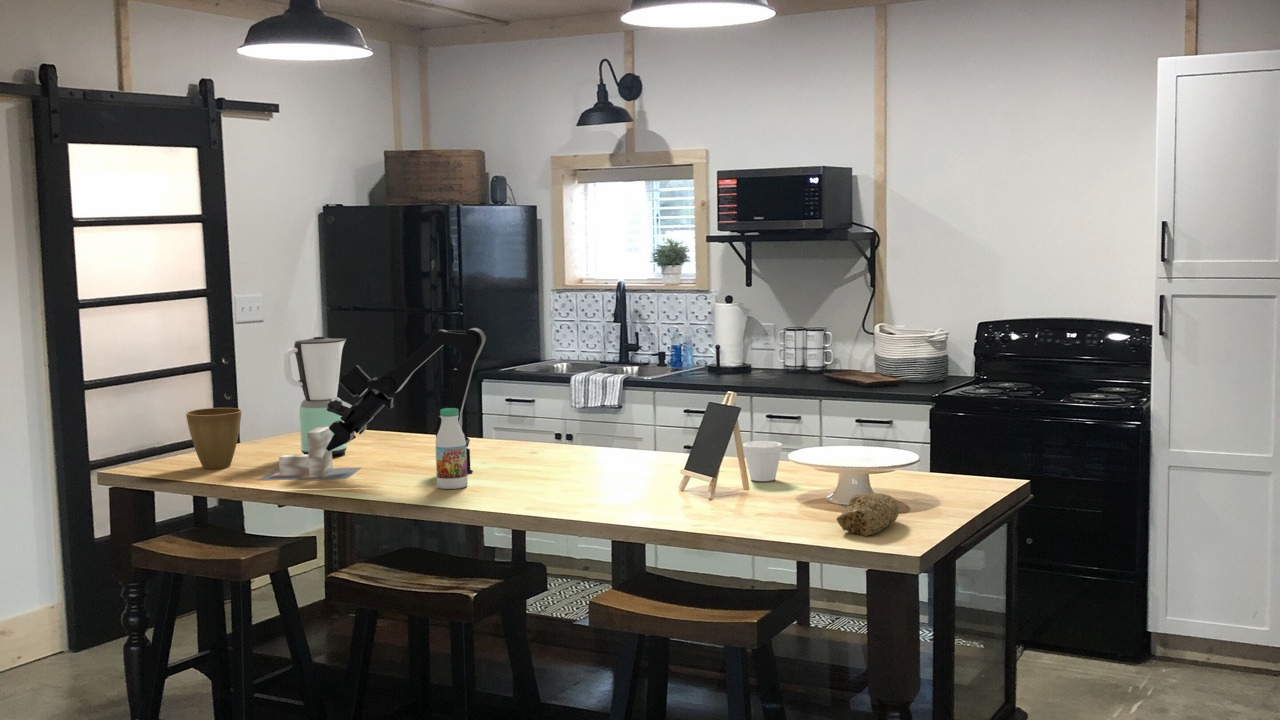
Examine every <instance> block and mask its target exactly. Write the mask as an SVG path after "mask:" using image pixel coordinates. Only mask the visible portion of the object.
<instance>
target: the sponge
mask: <svg viewBox="0 0 1280 720" xmlns="http://www.w3.org/2000/svg"><path fill="white" fill-rule="evenodd" d="M899 514H900V512H899V506H898V501H897V499H896V498H894V497H893V496H891V495H889V494H886V493H879V492H878V493H877V492H876V493H868V494H867V493H861V494H856V495H853V496H852V497H851V498H850V500H849V501H848V503H847V505H846V506H845V510H844V511H843V512H841V514H840V515H838V516H837V517H836V521H837V523H838V525H839V526H840V527H841V530H843V531H844V532H845V531H847V532H848V533H851V534H857V535H859V534H860V535H862V536H863V537H868V536H871V535H875V534H877V533H879V532H880V531H882V530H883V529H885V528H886V527H887V526H889V525H892V523H895V521H896V520H897V519H898V517H899Z"/></svg>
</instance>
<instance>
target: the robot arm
mask: <svg viewBox="0 0 1280 720" xmlns="http://www.w3.org/2000/svg"><path fill="white" fill-rule="evenodd" d="M486 340H487V337H486V335H485V332H484V331H483V330H481V329H480V328H478V327H472V328H469V329H468V330H448V329H447V330H446V329H438V330H437V331H435V332H434V333H433V335H432V336H431V337H430V338H429V339H428V340H427V341H425V342H424V343H423V344H422V345H421V346H420V347H419V348H417V350H416V351H415V352H413V353H412V354H411V355H410V356H409V357H408V358H407V359H405V361H403V362H402V363H400V364H399V365H398V366H396V367H394V368H392V369H390V370H388V371H387V372H385V373H384V374H382V375H381V376H378V377H377V376H375V377H373V378H371V377H370V376H369V375H368V374H366V372H365V371H364V370H363V369H362V367H361V366H359V364H357V365H354V367H353V368H351V369H350V370H349V371H348V372H347V373H345V374H344V375H343V376H342V377H341V378H339V383H338V384H340V386H342V387H343V389H345V390H346V391H347V392H348V393H349V394H350V395H351V396H352V397H354V398H355V397H357V396H358V397H359V398H360V397H361V398H360V400H359V401H358V402H357V403H355V404H353V405H352V404H350V403H349V402H347V401H344V400H342V399H341V398H340V399H341V400H340V399H337V398H332V399H331V400H330V402H329V403H328V407H327V411H329V412H333V413H335V414H337V415H340V416H342V417H341V418H340V419H341V420H342V421H344V422H342V421H335V422H334V423H332V425H331V426H330V427H329V429H330V430H331V431H332V432H333V433H334V435H333V437H332V439H331V441H330V442H329V444H328V446H327V448H326V449H327V450H328V451H331V450H333V449H335V448H337V447H339V446H341V445H343V444H348V443H350V442H351V441H353V440H354V439H357V437H356V435H355V434H359V435H362V434H363V433H364V432H365V431H366V430H367V429H368V426H367V425H368V423H369V422H370V421H372V420H373V419H375V416H376V415H377V414H378V413H379V412H380V411H381V410H382V409H383V408H384V407H386V408H387V409H389V410H391V409H392V408H394V397H388V396H390V395H391V396H392V395H394V394H396V393H398V392H400V391H401V390H403V387H404V386H405V385H406V383H408V381H409V380H410V378H411V377H412V376H413V374H414V373H415V371H417V370H418V369H419V368H420V367H421V366H422V365H423V364H425V362H427V360H429V359H430V358H432V356H433V355H435V353H436V352H438V351H439V350H440V349H442V347H444V346H449V347H450V346H451V347H458V348H459V363H458V368H457V371H456V376H455V379H454V383H453V387H452V391H451V395H450V397H449V401H448V402H449V403H448V405H447V408H457V409H458V410H459V417H458V422H459V425H460V428H461V430H462V431H463V429H462V428H463V410H464V405H465V404H466V403H465V402H466V398H467V396H468V395H467V394H468V391H469V387H470V384H471V379H472V376H473V372H474V368H475V364H476V363H477V360H478V358H479V356H480V354H481V352H482V350H483V347H484V346H485V343H486ZM362 395H363V397H362ZM387 395H388V396H387ZM440 417H441V415H439V416H438V417H437V424H436V428H435V429H434V430H433V431H434V432H436V433H435V438H436V437H437V434H438V432H439V429H440V426H441V421H442V419H441V418H440ZM464 437H465V441H466V455H467V474H471V473H473V470H472V469H471V450H470V449H471V448H469V445H470V441H471V439H470V438H468V437H467V436H466V434H464Z"/></svg>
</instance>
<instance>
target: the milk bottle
mask: <svg viewBox="0 0 1280 720" xmlns="http://www.w3.org/2000/svg"><path fill="white" fill-rule="evenodd" d="M439 410H440V411H439V413H440V415H441V417H440V418H441V419H442V421H441V426H440V429H439V432H438V434H437V437H436V436H435V468H436V469H435V470H436V486H437V488H438V489H442V490H458V489H463V488H466V487H467V486H468V484H469V483H468V473H467V455H466V441H465V437H464V435H465V433H464V432H463V429H462V430H461V428H460V425H459V422H458V417H459V410H458V409H457V408H448V407H446V408H441V409H439ZM440 415H439V416H440Z"/></svg>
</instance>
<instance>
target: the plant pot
mask: <svg viewBox="0 0 1280 720" xmlns="http://www.w3.org/2000/svg"><path fill="white" fill-rule="evenodd" d="M185 415H186V420H187V426H188V430H189V433H190V438H191V440H192V444H193V447H194V449H195V453H196V455H197V457H198V460H199V463H200V464H201V466H202V468H203V469H206V470H218V469H226V468H229V467H231V465H232V461H233V458H234V456H235V451H236V448H237V444H238V439H239V434H240V428H241V422H242V421H241V419H242V409H240V408H236V407H213V408H212V407H211V408H210V407H209V408H208V407H207V408H200V409H199V408H198V409H193V410H189V411H186V412H185Z"/></svg>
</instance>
